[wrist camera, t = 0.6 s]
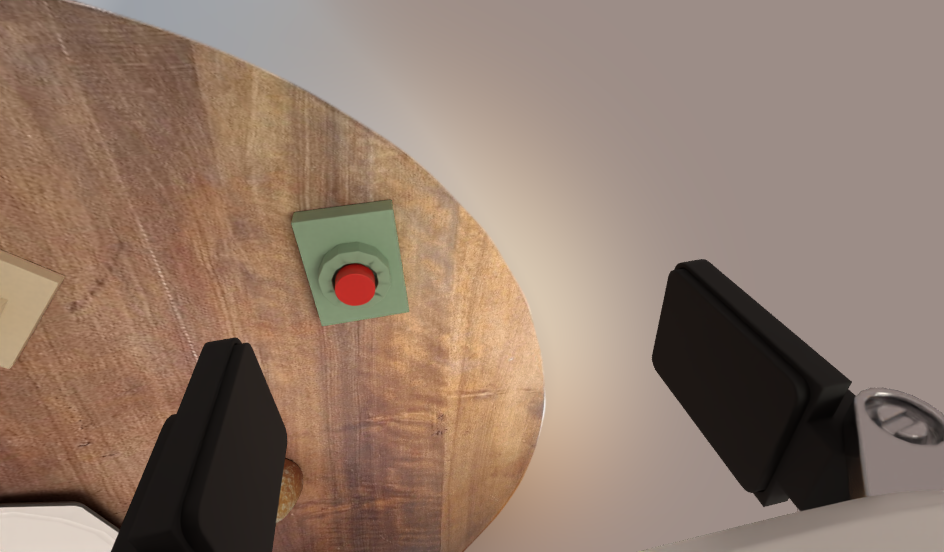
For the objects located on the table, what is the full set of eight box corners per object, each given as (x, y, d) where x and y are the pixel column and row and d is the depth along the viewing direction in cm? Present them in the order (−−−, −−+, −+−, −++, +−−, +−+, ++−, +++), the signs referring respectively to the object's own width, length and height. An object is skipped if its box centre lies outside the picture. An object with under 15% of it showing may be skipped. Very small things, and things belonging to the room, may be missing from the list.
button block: (293, 212, 44) (288, 232, 41) (391, 199, 45) (394, 218, 42) (323, 313, 51) (320, 338, 48) (407, 300, 52) (411, 323, 49)
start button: (331, 266, 44) (331, 277, 42) (371, 260, 44) (371, 270, 43) (339, 297, 46) (339, 309, 44) (377, 292, 46) (378, 302, 45)
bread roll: (280, 478, 69) (299, 529, 65) (202, 501, 62) (218, 560, 58) (300, 434, 65) (322, 485, 61) (219, 453, 58) (237, 512, 53)
